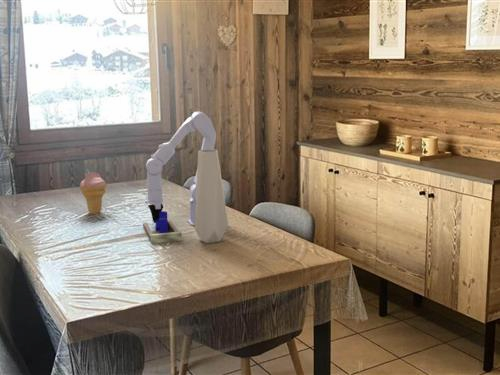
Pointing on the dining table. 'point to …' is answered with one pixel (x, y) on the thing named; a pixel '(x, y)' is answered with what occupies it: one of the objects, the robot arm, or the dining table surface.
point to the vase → (210, 198)
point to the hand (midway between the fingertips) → (156, 222)
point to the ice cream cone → (93, 191)
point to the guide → (163, 234)
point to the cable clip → (162, 222)
